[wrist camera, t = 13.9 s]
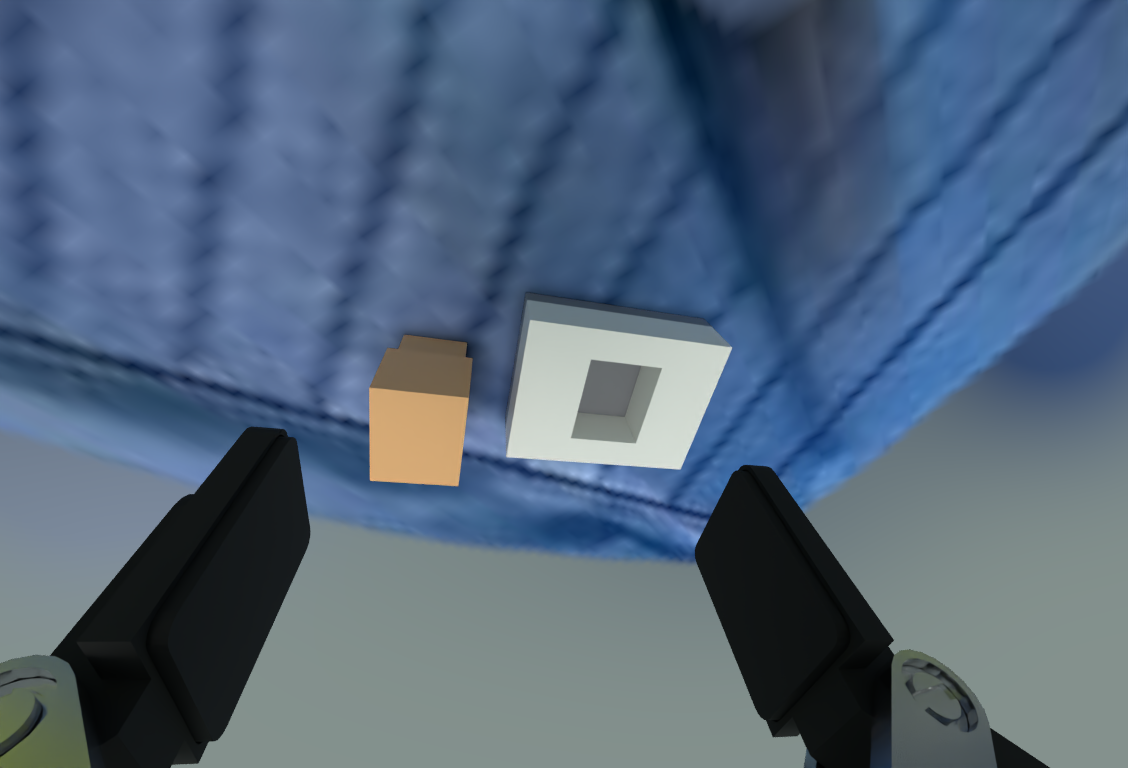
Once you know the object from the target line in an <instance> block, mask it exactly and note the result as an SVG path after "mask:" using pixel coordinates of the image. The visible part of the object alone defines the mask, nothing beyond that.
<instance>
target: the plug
mask: <svg viewBox="0 0 1128 768" xmlns="http://www.w3.org/2000/svg"><path fill="white" fill-rule="evenodd" d="M466 349H467V343H466V342H458V341H451V340H443V339H435V338H427V337H420V336H412V335H404V336H403V338H402V341H401V343H400V346H399V348H398V349H393V348H387V350H386V352H385V355H384V357H383V359H382V361H381V363H380V366H379V368H378V370H377V372H376V374H375V377H374V379H373V381H372V383H371V385H370V387H369V402H370V481H384V482H400V483H417V484H433V485H449V486H458V483H459V475H460V467H461V459H462V451H463V442H464V434H465V426H466V418H467V410H468V401H469V392H470V381H471V371H472V361H473V358H467V357H466Z"/></svg>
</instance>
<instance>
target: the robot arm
mask: <svg viewBox="0 0 1128 768" xmlns="http://www.w3.org/2000/svg"><path fill="white" fill-rule="evenodd" d="M309 539H310V524H309V518H308V511H307V505H306V498H305V492H304V485H303V479H302V472H301V465H300V459H299V452H298V446H297V441H296V439H295V438H293V437H288V435H287V432H286V431H285V430H284V429H276V428H263V427H249V428H247V429H246V430H245V431H244V432H243V433H242V435H241V436H240V437H239V438H238V440H237V441H236V442H235V443H234V445H233V446H232V447H231V448H230V450H229V451H228V452H227V453H226V455H225V456H224V457H223V458H222V460H221V461H220V462H219V463H218V465H217V466H216V467H215V469H214V470H213V471H212V472H211V474H210V475H209V476H208V477H207V479H206V480H205V481H204V482H203V484H202V485H201V486H200V487H199V489H198V490H197V491H196V492H195V494H189V495H187V496H185V497H183V498H181V499H180V500H179V501H178V502H177V503H176V504H175V505H174V506H173V507H172V508H171V510H170V511H169V512H168V513H167V515H166V516H165V517H164V518H163V519H162V521H161V522H160V523H159V524H158V526H157V527H156V528H155V529H154V530H153V531H152V533H151V534H150V535H149V536H148V538H147V539H146V540H145V541H144V542H143V544H142V545H141V546H140V547H139V549H138V550H137V551H136V552H135V553H134V555H133V556H132V557H131V558H130V559H129V561H128V562H127V563H126V564H125V565H124V567H123V568H122V569H121V570H120V571H119V573H118V574H117V575H116V576H115V578H114V579H113V580H112V581H111V582H110V584H109V585H108V586H107V587H106V588H105V590H104V591H103V592H102V593H101V595H100V596H99V597H98V598H97V599H96V601H95V602H94V603H93V604H92V606H91V607H90V608H89V609H88V610H87V611H86V613H85V614H84V615H83V616H82V618H81V619H80V620H79V621H78V622H77V624H76V625H75V626H74V627H73V628H72V630H71V631H70V632H69V633H68V634H67V636H66V637H65V638H64V639H63V641H62V642H61V643H60V644H59V645H58V647H57V648H56V649H55V650H54V651H53V653H52V654H51V655H50V656H45V655H32V656H27V657H21V658H15V659H11V660H8V661H5V662H3V663H0V768H170V767H171V765H175V764H195V763H196V764H197V763H199V761H200V759H201V757H202V754H203V753H204V750H205V748H206V746H207V744H208V742H209V741H216V740H218V739H219V738H220V737H221V735H222V734H223V732H224V731H225V729H226V727H227V725H228V723H229V720H230V718H231V716H232V714H233V712H234V709H235V707H236V705H237V703H238V700H239V698H240V696H241V694H242V692H243V689H244V687H245V685H246V683H247V681H248V678H249V676H250V674H251V672H252V669H253V667H254V665H255V663H256V660H257V658H258V656H259V654H260V652H261V649H262V647H263V645H264V642H265V641H266V638H267V636H268V634H269V632H270V629H271V627H272V625H273V623H274V621H275V618H276V616H277V614H278V612H279V609H280V607H281V605H282V603H283V600H284V598H285V596H286V594H287V592H288V590H289V587H290V585H291V583H292V581H293V578H294V576H295V574H296V572H297V570H298V567H299V565H300V563H301V561H302V558H303V556H304V554H305V552H306V549H307V547H308V544H309ZM695 559H696V562H697V565H698V567H699V570H700V572H701V575H702V577H703V580H704V582H705V585H706V587H707V590H708V592H709V594H710V597H711V599H712V602H713V604H714V607H715V609H716V612H717V614H718V617H719V619H720V621H721V624H722V627H723V629H724V631H725V634H726V637H727V639H728V642H729V644H730V646H731V649H732V651H733V654H734V656H735V659H736V661H737V664H738V666H739V669H740V671H741V674H742V676H743V679H744V681H745V684H746V686H747V689H748V691H749V694H750V696H751V699H752V701H753V704H754V706H755V708H756V710H757V712H758V714H759V715H760V717H761V718H763V719H764V720H766V721H767V724H768V726H769V729H770V731H771V733H772V736H773V737H787V736H798V735H799V734H801V736H802V739H803V741H804V743H805V745H806V747H807V749H806V756H805V762H804V768H1049V767H1048V766H1046V765H1045V764H1044V763H1042V762H1041V761H1039V760H1037V759H1036V758H1035V757H1033V756H1031V755H1030V754H1029V753H1027V752H1026V751H1024V750H1022V749H1021V748H1020V747H1018V746H1017V745H1015V744H1014V743H1012V742H1010V741H1009V740H1007V739H1006V738H1005V737H1003V736H1002V735H1000V734H999V733H997V732H995V731H994V730H993V729H991V728H990V726H989V722H988V719H987V716H986V713H985V710H984V708H983V707H982V705H981V704H980V702H979V700H978V699H977V697H976V695H975V694H974V693H973V692H972V691H971V689H970V688H969V687H968V686H967V685H966V683H965V682H964V681H963V680H962V679H960V678H959V677H958V676H957V675H956V674H955V673H954V672H953V671H951V669H949V668H948V667H946V666H945V665H943V664H942V663H941V662H939V661H938V660H936V659H935V658H933V657H930V656H928V655H926V654H924V653H922V652H918V651H914V650H910V649H909V650H901V651H899V652H898V653H897V654H895V655H894V654H893V653H892V651H891V650H890V648H889V647H888V646H889V645H890V644H891V643H892V642H893V641H894V640H893V638H892V637H891V635H890V634H889V633H888V631H887V630H886V628H885V627H884V626H883V625H882V623H881V622H880V620H879V618H878V617H877V616H876V614H875V613H874V611H873V610H872V609H871V607H870V606H869V604H868V603H867V602H866V600H865V599H864V597H863V596H862V595H861V593H860V592H859V590H858V589H857V588H856V586H855V585H854V583H853V582H852V581H851V579H850V578H849V576H848V575H847V573H846V572H845V571H844V569H843V568H842V566H841V565H840V564H839V562H838V561H837V559H836V558H835V557H834V555H833V554H832V552H831V551H830V549H829V548H828V547H827V545H826V544H825V543H824V541H823V540H822V538H821V537H820V536H819V534H818V533H817V531H816V530H815V529H814V527H813V526H812V524H811V523H810V521H809V520H808V519H807V517H806V516H805V514H804V513H803V511H802V510H801V509H800V507H799V506H798V504H797V503H796V502H795V500H794V499H793V497H792V496H791V495H790V493H789V492H788V490H787V489H786V488H785V486H784V485H783V483H782V482H781V480H780V479H779V478H778V476H777V475H776V473H775V472H774V471H773V470H772V469H771V468H770V467H767V466H754V465H743V466H741V467H740V469H739V470H738V471H735V472H733V474H732V475H731V477H730V479H729V481H728V483H727V485H726V487H725V489H724V491H723V493H722V495H721V497H720V499H719V501H718V503H717V505H716V507H715V509H714V511H713V513H712V515H711V517H710V519H709V521H708V523H707V525H706V527H705V529H704V531H703V533H702V535H701V537H700V539H699V541H698V543H697V545H696V547H695Z"/></svg>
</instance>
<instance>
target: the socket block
mask: <svg viewBox="0 0 1128 768" xmlns="http://www.w3.org/2000/svg"><path fill="white" fill-rule="evenodd" d="M731 350H732V347H731V346H730V345H729V344H728V343H727V342H726V341H725V340H724V339H723V338H722V337H721V336H720V335H719V334H718V333H717V332H716V331H715V330H714V329H713V328H712V326H711V325H710V324H709V323H708V322H707V321H706V320H705V319H702V318H695V317H688V316H682V315H675V314H668V313H662V312H655V311H648V310H641V309H635V308H628V307H621V306H615V305H608V304H601V303H594V302H588V301H581V300H574V299H568V298H561V297H554V296H547V295H541V294H534V293H527V292H526V294H525V300H524V306H523V312H522V318H521V324H520V330H519V336H518V343H517V349H516V355H515V361H514V367H513V373H512V379H511V385H510V392H509V398H508V404H507V410H506V416H505V428H506V457H513V458H527V459H541V460H555V461H569V462H583V463H597V464H611V465H625V466H639V467H653V468H667V469H681V467H682V465H683V462H684V460H685V458H686V455H687V453H688V450H689V448H690V446H691V443H692V441H693V439H694V436H695V434H696V432H697V429H698V427H699V425H700V422H701V420H702V418H703V415H704V413H705V411H706V408H707V406H708V404H709V401H710V399H711V396H712V394H713V392H714V389H715V387H716V385H717V382H718V380H719V378H720V375H721V373H722V371H723V368H724V366H725V364H726V361H727V359H728V357H729V354H730V352H731Z"/></svg>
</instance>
